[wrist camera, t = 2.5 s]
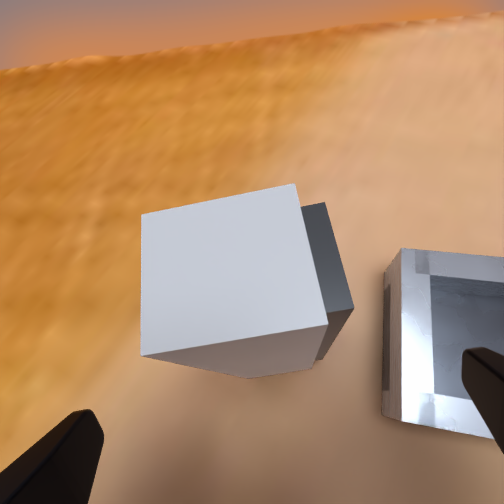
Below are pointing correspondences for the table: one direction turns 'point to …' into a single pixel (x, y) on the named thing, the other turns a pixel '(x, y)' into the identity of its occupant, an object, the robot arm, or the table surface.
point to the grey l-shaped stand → (438, 334)
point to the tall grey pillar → (242, 284)
